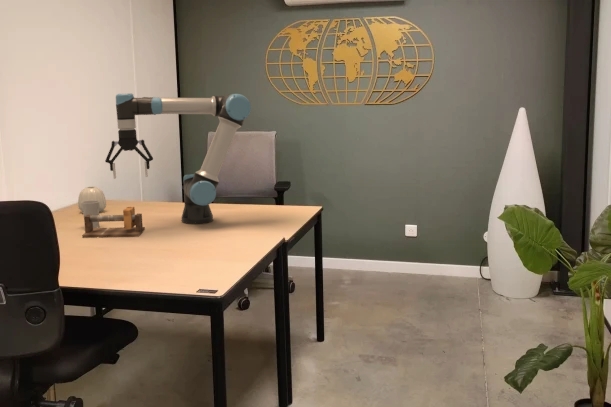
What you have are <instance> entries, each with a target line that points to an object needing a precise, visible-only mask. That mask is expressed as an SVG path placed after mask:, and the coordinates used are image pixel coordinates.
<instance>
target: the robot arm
mask: <svg viewBox="0 0 611 407" xmlns="http://www.w3.org/2000/svg"><path fill="white" fill-rule="evenodd" d="M115 107H116V121H117V129H118V132H117V133H118V141H115V140H112V141H111V145H110V149H109V151H108V153H107V155H106V158H105V163H107V164H109V169H110V171H111V172H112V173H113V179H114V180H115V179H116V178H117V175H116V174H117V173H116V163H115V162H114V161H116V159H117V158H118V157H119V155H120V154H121V152H122V151H125V152H126V151H135V152H136V153H137V154H138V155H139V156H140V157H141V158H142V159H144V172H145V178H148V170H150V162H151V161H154V158H153V156H152V154H151V152H150V151H149V149H148V148H147V145H146V144H145V139H140V140H138V138H137V130H136V127H137V126H136V117H135V116H152V115H154V116H156V115H212V116H213V117H217V118H218V120H219V123H218V125H217V128H216V131H215V133H214V135H213V137H212V140H211V143H210V145H209V148H208V150H207V152H206V155H205V157H204V159H203V161H202V165H201V167H200V169H199V170H197V171H195V172H194V173H193V174H185V175H184V176H183V180H182V183H183V194H184V195H183V197H184V198H183V199H184V207H183V210H182V215H181V222H182V223H184V224H191V225H193V224H194V225H196V224H197V225H198V224H207V223H210V222H213V221H214V215H213V213H212V210H211V207H210V204H212V202H214V200H215V199H216V196H217V188H218V185H219V183H220V179H219V175H220V171H221V170H222V166H223V164H224V162H225V160H226V157H227V155H228V152H229V149H230V147H231V145H232V142H233V140H234V138H235V135H236V133H237V131H238V130H239V129H240V128H242V127H243V125H244V122H245V120H246V119H247V118H248V116H250V113H251V111H252V105H251V102H250V100H249V99H248V98H247V97H246V96H245V95H243V94H242V93H241V94H240V93H229V94H224V95H212V96H211V97H160V96H159V97H158V96H157V97H156V96H153V97H149V96H143V97H134V94H133V93H117V94H116V95H115ZM138 144H139V145H140V146H142V148H143V150H144V152H145V153H146V155H147V156H146V155H145V154H144V153H143V151H141V150H140V149H139V148H138V146H137V145H138ZM117 145H118V146H119V147H120V148H119V149H118V151H117V152H116V153H115V155H114V156H113V157H112V159H110V158H111V156H112V154H113V151H114V149H115V147H117Z"/></svg>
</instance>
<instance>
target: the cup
mask: <svg viewBox="0 0 611 407" xmlns="http://www.w3.org/2000/svg"><path fill="white" fill-rule="evenodd" d="M81 204H82V209H83V212H82V214H83V218H84V217H85V216H86V215H92V216H93V215H100V212H99V201H96V200H91V201H83V202H81ZM97 227H98V228H100V222H93V228H97Z"/></svg>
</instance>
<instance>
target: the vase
mask: <svg viewBox="0 0 611 407" xmlns="http://www.w3.org/2000/svg"><path fill="white" fill-rule="evenodd" d="M91 200H96V201H99V213H101V212H103V211H104V209H106V208H107V200H106V196H105V193H104V191H103V190H101V189H100V188H99V187H97V186H87V187H84V188H83V189H81V191H80V192H79V194H78V201H77V206H78V209H79V210H80V211H81V212H82V213H83V209H82V204H81V202H83V201H91Z"/></svg>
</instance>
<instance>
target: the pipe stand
mask: <svg viewBox="0 0 611 407" xmlns="http://www.w3.org/2000/svg"><path fill="white" fill-rule="evenodd" d="M142 214H143V213H135V215H132V221H135V226H134V227H133V228H132V229H124V227H123V226H121V227H120V226H119V227H98V228H93V222H99V223H100V222H102V223H103V222H104V223H105V222H106V223H107V222H124V215H123V214H111V215H110V214H105V215H104V214H103V215H101V214H99V215H93V216H92V215H86V216H85V217H84V216H83V220H84V221H83V222H84V231H85V232H84V233H83V234H82V238H83V239H85V238H86V239H89V238H91V239H92V238H93V239H95V238H97V237H99V238H131V237H132V238H133V237H134V238H135V237H139V236H140V235H142V234H143V232H144V231H145V230H146V228H145V226H144V225H143V215H142Z"/></svg>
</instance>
